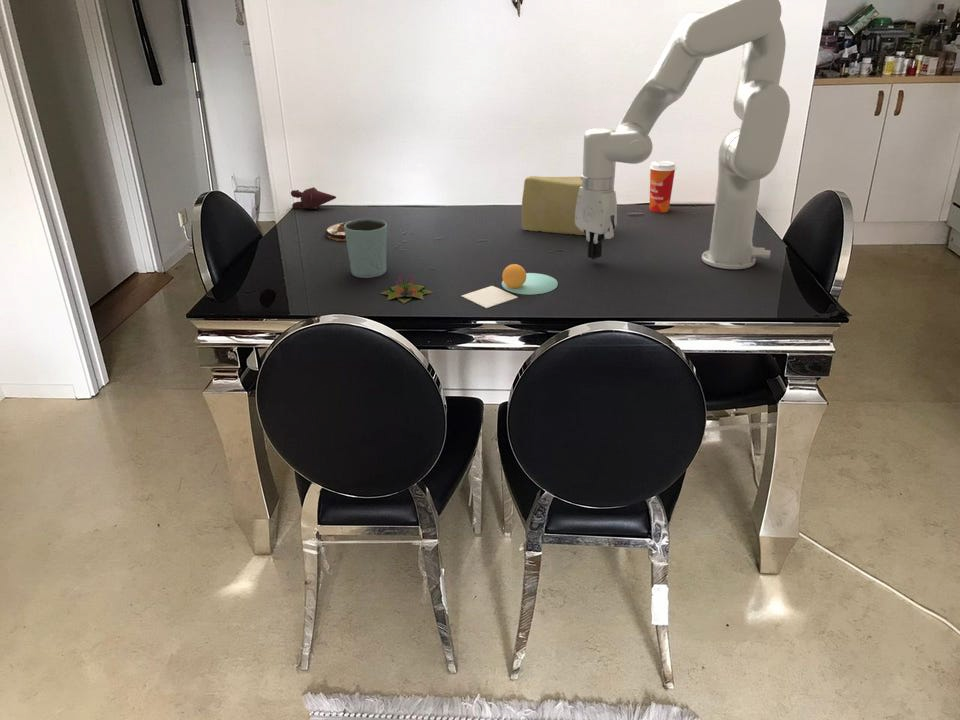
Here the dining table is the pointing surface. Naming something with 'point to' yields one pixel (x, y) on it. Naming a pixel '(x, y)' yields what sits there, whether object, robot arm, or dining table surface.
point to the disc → (534, 284)
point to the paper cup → (661, 185)
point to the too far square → (489, 296)
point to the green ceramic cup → (366, 247)
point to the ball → (514, 276)
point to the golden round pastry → (337, 232)
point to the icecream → (311, 198)
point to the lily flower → (397, 291)
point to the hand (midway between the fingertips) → (594, 256)
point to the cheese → (550, 204)
